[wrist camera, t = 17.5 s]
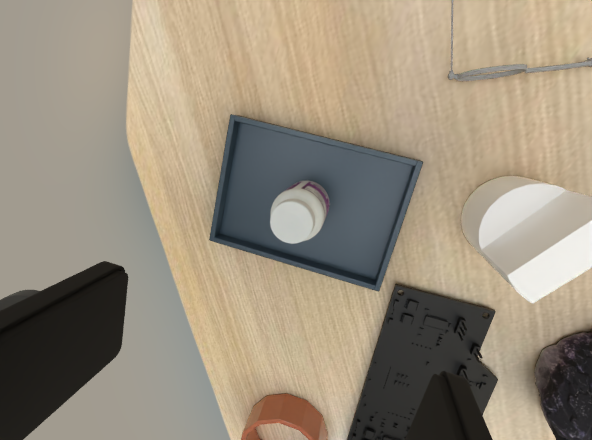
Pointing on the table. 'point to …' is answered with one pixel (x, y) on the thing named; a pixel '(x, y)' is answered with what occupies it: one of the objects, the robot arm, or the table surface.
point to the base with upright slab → (530, 232)
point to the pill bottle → (299, 212)
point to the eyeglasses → (506, 67)
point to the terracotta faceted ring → (286, 416)
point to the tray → (340, 189)
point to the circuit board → (420, 360)
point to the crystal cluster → (567, 386)
